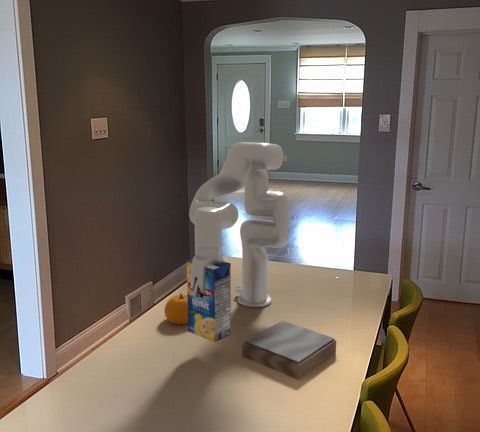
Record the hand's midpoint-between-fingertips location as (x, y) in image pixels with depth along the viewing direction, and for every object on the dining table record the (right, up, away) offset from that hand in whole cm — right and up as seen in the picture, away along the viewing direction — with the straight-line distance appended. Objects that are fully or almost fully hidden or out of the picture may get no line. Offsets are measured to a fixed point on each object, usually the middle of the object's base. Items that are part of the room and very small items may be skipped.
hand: (209, 310), depth 150 cm
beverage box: (0, -7, +2) cm, 7 cm away
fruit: (-11, -9, +27) cm, 30 cm away
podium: (+24, -14, +3) cm, 28 cm away
